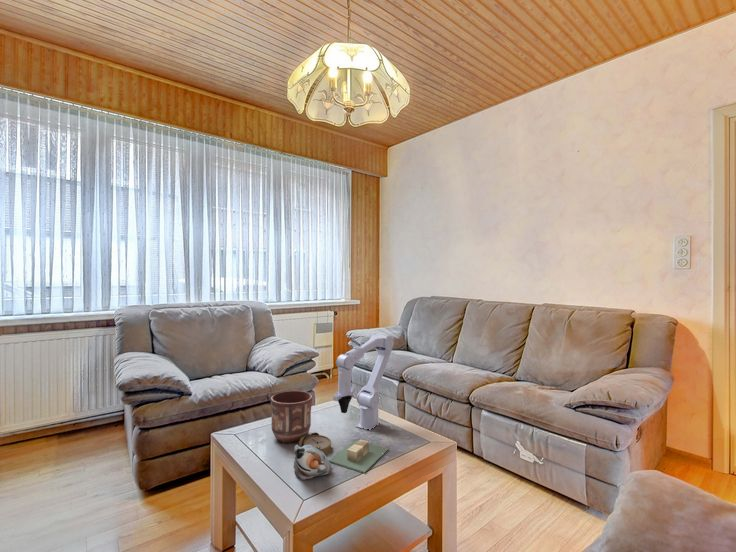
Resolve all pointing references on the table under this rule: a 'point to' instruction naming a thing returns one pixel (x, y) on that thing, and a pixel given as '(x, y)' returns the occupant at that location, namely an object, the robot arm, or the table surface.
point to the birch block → (358, 450)
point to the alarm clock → (316, 442)
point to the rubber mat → (364, 462)
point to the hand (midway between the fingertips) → (343, 412)
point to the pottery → (291, 415)
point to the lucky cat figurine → (310, 462)
